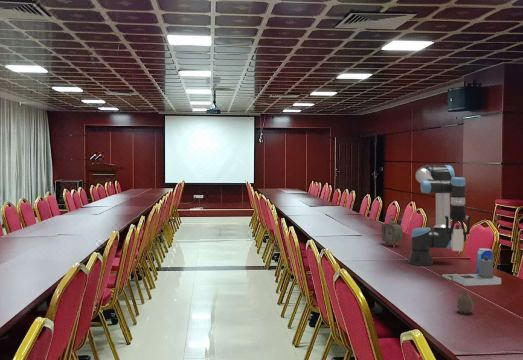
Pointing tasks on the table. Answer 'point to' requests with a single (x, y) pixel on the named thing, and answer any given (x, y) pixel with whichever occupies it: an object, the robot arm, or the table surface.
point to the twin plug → (485, 267)
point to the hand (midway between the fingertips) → (457, 246)
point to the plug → (457, 239)
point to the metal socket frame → (475, 280)
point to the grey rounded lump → (464, 303)
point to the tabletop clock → (391, 232)
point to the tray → (448, 275)
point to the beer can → (481, 254)
